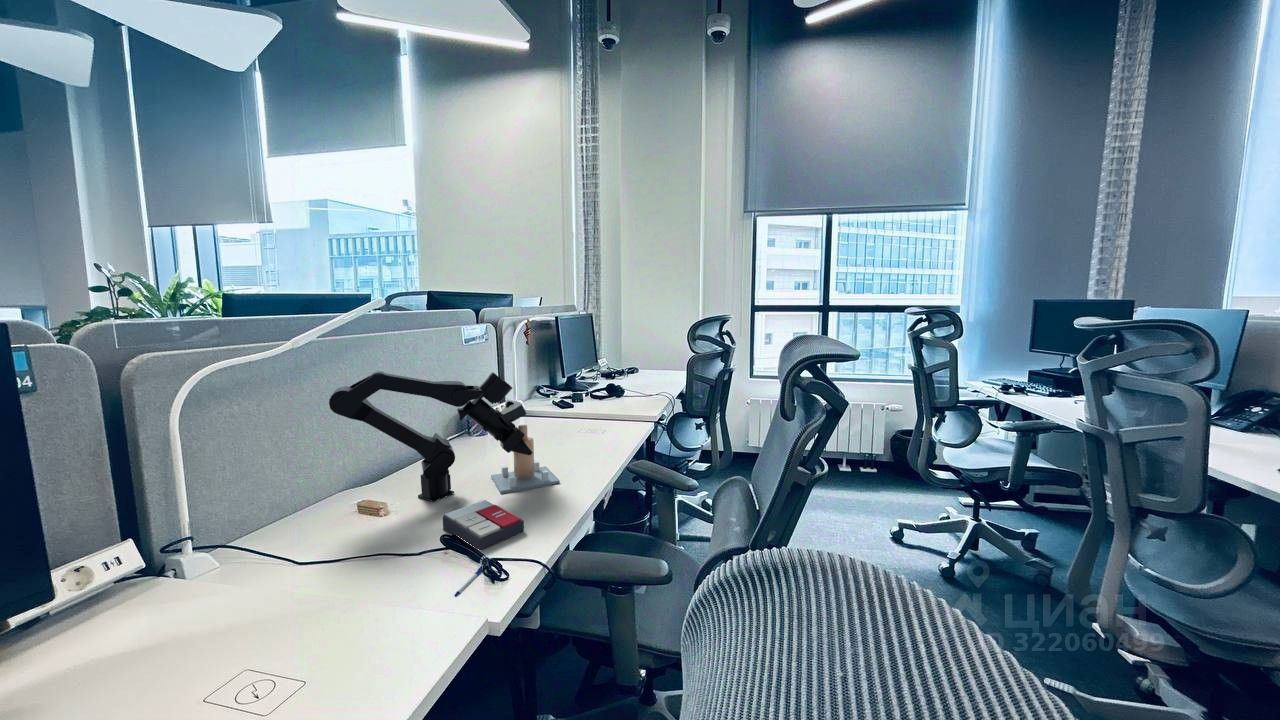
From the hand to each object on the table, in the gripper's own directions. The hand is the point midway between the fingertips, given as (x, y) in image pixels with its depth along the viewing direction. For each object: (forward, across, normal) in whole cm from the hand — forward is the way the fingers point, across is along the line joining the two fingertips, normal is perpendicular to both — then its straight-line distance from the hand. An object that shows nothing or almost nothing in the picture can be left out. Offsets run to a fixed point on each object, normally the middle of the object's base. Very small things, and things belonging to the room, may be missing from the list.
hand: (528, 451), depth 138 cm
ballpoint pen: (-9, -44, +22) cm, 50 cm away
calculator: (-6, -26, +18) cm, 32 cm away
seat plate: (+5, 0, +7) cm, 8 cm away
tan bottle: (+4, 0, +6) cm, 7 cm away
